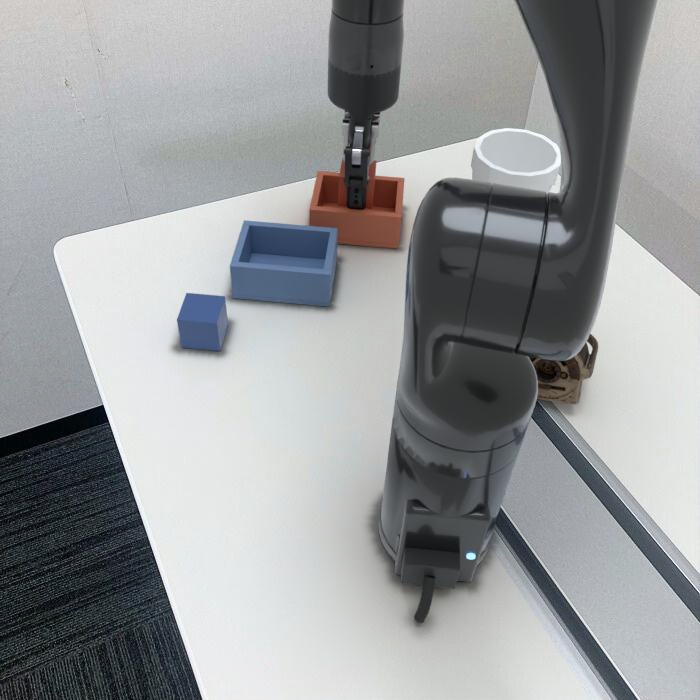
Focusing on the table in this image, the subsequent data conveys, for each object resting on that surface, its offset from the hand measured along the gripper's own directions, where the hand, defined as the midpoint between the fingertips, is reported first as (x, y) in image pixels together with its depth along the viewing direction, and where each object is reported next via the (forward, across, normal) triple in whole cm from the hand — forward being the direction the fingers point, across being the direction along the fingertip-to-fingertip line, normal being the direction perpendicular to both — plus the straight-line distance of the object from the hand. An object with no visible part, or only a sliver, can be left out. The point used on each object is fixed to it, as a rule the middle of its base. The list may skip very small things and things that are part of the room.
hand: (357, 195), depth 89 cm
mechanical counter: (+5, -21, -22) cm, 31 cm away
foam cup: (+4, -2, -17) cm, 18 cm away
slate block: (+4, -21, +14) cm, 26 cm away
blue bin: (+4, -11, +7) cm, 14 cm away
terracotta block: (0, 0, 0) cm, 0 cm away
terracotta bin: (+4, 0, 0) cm, 4 cm away
